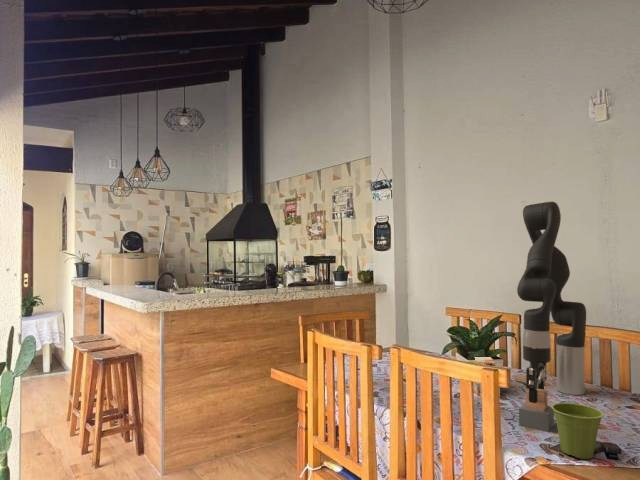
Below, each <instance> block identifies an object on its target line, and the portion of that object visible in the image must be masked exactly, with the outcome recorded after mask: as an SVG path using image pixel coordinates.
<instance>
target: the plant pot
mask: <svg viewBox="0 0 640 480" xmlns="http://www.w3.org/2000/svg"><path fill="white" fill-rule="evenodd" d="M550 406H551V408H552V409H553V410H554V419H555V421H556V427H557V432H558V433H557V434H558V440H559V445H560V450H562V451H563V452H565V453H567V454H569V455H572V456H571V457H573V456H575V457H577V458H580V459H579V460H590V459H592V458H593V457H594V453H595V448H596V442H597V437H598V430H599V427H600V425H601V421H602V420H601V419H602V418H604V413H603V412H602V411H601V410H599V409H597V408H595V407H592V406H588V405H585V404H580V403H574V402H573V403H571V402H558V403H557V402H556V403H554V404H551V405H550ZM562 451H561V452H562ZM563 452H562V453H563ZM575 457H574V458H575ZM577 458H576V459H577Z"/></svg>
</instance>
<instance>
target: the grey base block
mask: <svg viewBox="0 0 640 480" xmlns="http://www.w3.org/2000/svg"><path fill="white" fill-rule="evenodd" d="M551 406H552V405H548V407H547V408H546V410H545V411H544V412H543V411H538V410H534V409H529V408H526V401H525V402H524V403H523V404H522V405H520V407H518V425H519V426H521V427H522V426H523V427H525V428H530V429H533V430H538V431H544V432H549V431H550V430H551V429H552V427H553V426H555V415H554V410H553V409H552V408H551Z"/></svg>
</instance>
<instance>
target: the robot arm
mask: <svg viewBox="0 0 640 480" xmlns="http://www.w3.org/2000/svg"><path fill="white" fill-rule="evenodd" d="M561 216H562V215H561V209H560V207H559V205H558V203H557V202H555V201H545V202H539V203H538V202H537V203H533V204H527V205H526V206H524V207H523V208H522V218H523V221H524V224H525V228H526V231H527V233H528V236H529V238H530V241H531V243H532V246H530V249H529V250H528V253H527V257H526V260H527V261H526V267H525V270H524V272H523V275H521V278H520V280H519V281H518V284H517V288H516V292H517V293H516V294H517V296H518V298H520V299H521V300H522V301H524V302H533V303H535V302H537V303H542V305H541V306H540V307H538V308H537V307H536V308H532V309H531V308H530V309H526V310H524V314H523V334H522V358H523V360H525V361H526V362H529V366H528V367H526V370H525V371H526V382H525V384H526V385H525V387H526V389H529V402H532V403H537V390H538V389H542V390H545V383H546V380H547V363H549V362H551V355H552V354H551V348H552V347H551V341H552V340H551V333H550V316H551V319H552V321H553V322H554V323H555V324H556V325H558V326H561V327H563V326H564V327H570V328H572V329H571V331H570V332H569V333H566V334H561V335H557V336H556V391H558V392H560V393H562V394H566V395H570V396H571V395H574V396H581V395H585V394H586V392H585V391H586V386H585V385H586V380H585V379H586V377H585V376H586V375H585V373H586V369H585V367H586V360H585V359H586V357H585V356H586V354H585V353H586V352H585V348H586V347H585V342H586V330H587V329H586V327H587V325H586V324H587V308H586V305H585V304H584V303H582V302H580V301H568V300H567V301H565V300H563V299H562V294H561V293H562V291H563V289H564V287H565V286H566V284H567V282H568V280H569V279H570V275H571V271H570V266H569V264H568V260H567V257H566V255H565V254H564V253H563V252H562V250H560V249H559V248H558V247H556V245H555V244H556V241H557V237H558V234H559V230H560V226H561ZM542 231H543V232H542ZM532 383H533V384H532Z"/></svg>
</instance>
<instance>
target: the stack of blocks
mask: <svg viewBox="0 0 640 480" xmlns="http://www.w3.org/2000/svg"><path fill="white" fill-rule="evenodd" d="M474 358H475V361H476V362H477V363H484V364H486V365H490V366H495V367H496V362H495V361H494V359H493V358H492V357H491V356H490V357H474ZM473 390H474V392H475V394H476V396H477V397H478V396H480V384H474V388H473Z"/></svg>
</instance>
